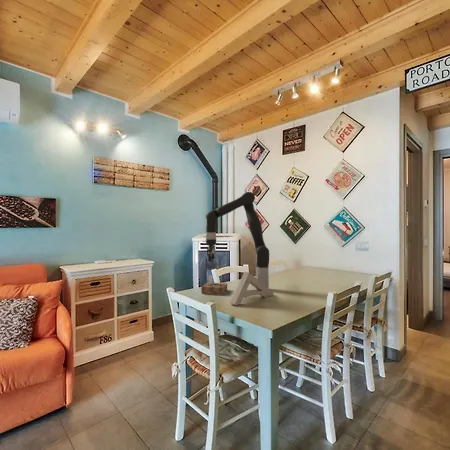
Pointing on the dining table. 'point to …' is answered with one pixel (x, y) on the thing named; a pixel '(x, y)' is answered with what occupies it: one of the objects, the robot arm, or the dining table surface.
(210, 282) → the bracket
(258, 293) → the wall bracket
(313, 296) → the dining table surface
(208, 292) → the well block
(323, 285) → the dining table surface
